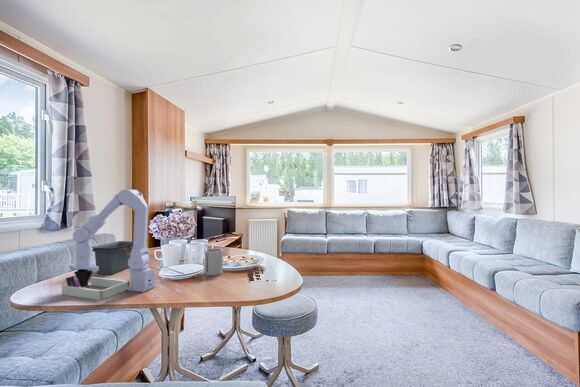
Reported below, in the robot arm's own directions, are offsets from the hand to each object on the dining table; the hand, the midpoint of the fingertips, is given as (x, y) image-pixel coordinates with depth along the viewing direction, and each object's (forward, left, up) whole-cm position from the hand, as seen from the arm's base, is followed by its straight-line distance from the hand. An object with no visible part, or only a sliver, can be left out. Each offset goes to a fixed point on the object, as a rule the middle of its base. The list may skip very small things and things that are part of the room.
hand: (83, 286), depth 130 cm
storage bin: (+13, -29, -2) cm, 32 cm away
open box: (-7, 0, -1) cm, 7 cm away
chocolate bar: (-63, -47, -2) cm, 79 cm away
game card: (+2, +2, -2) cm, 3 cm away
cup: (-39, -41, -2) cm, 57 cm away
